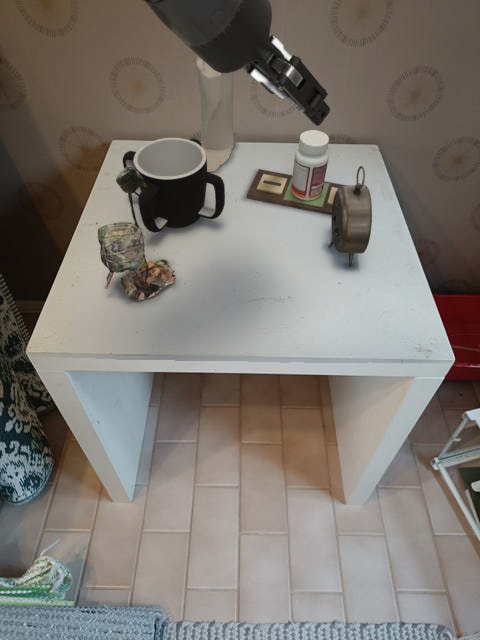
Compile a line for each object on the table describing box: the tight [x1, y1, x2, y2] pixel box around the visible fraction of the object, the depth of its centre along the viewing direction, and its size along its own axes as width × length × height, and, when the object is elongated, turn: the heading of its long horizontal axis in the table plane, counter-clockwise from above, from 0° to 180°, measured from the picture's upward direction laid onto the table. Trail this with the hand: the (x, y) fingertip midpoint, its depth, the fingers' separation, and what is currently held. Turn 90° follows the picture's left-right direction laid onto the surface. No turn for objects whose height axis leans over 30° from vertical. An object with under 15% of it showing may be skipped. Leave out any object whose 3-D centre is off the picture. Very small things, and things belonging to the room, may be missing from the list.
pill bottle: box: [291, 129, 330, 200], centre depth 79 cm, size 6×6×11 cm
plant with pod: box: [94, 165, 177, 302], centre depth 63 cm, size 8×11×20 cm
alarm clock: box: [328, 165, 373, 267], centre depth 69 cm, size 11×5×16 cm, turn 179°
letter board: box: [246, 168, 347, 216], centre depth 84 cm, size 22×9×1 cm, turn 73°
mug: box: [122, 137, 226, 234], centre depth 76 cm, size 16×16×12 cm
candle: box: [196, 54, 235, 173], centre depth 85 cm, size 7×14×20 cm, turn 167°
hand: (298, 101), depth 49 cm, fingers open, 8 cm apart
